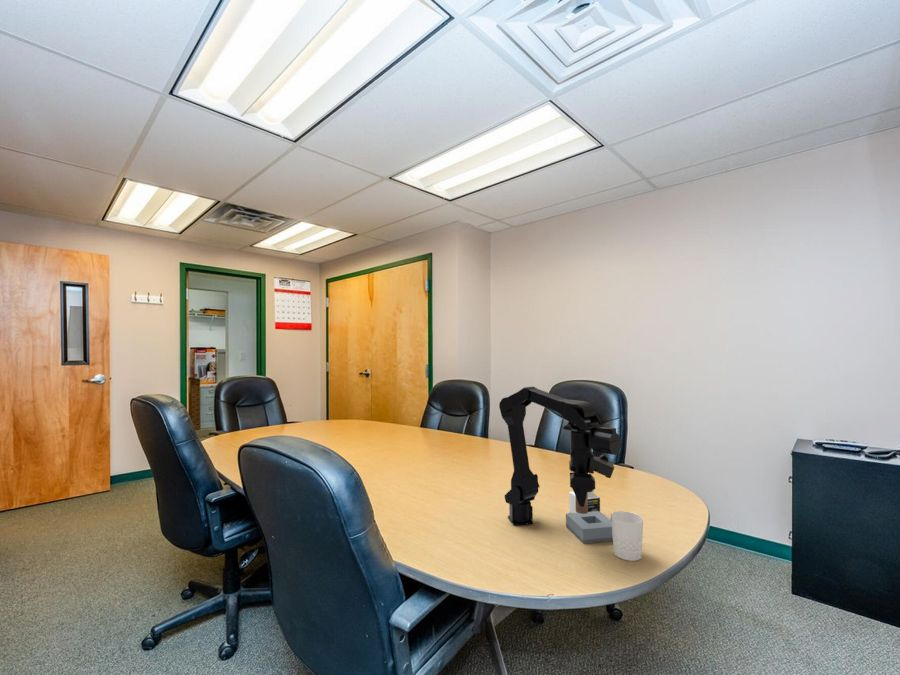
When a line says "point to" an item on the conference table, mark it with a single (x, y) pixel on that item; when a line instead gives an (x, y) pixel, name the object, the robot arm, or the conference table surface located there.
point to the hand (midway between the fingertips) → (581, 504)
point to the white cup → (627, 535)
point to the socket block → (590, 526)
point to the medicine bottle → (592, 502)
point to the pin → (582, 509)
